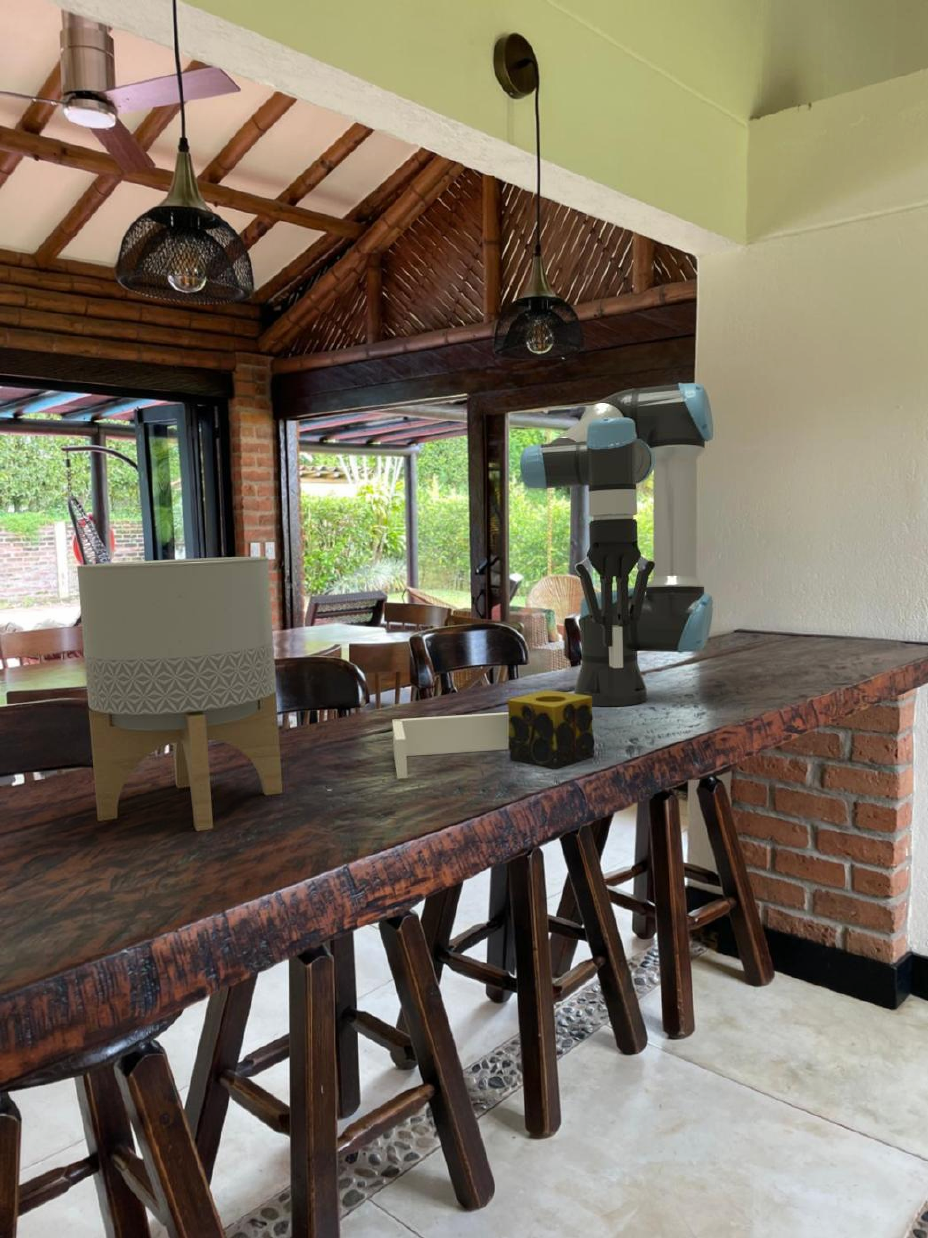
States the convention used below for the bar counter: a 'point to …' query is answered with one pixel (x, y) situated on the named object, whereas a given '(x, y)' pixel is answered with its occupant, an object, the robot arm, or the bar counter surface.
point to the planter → (179, 670)
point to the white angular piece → (448, 736)
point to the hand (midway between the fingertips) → (616, 666)
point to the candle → (550, 728)
